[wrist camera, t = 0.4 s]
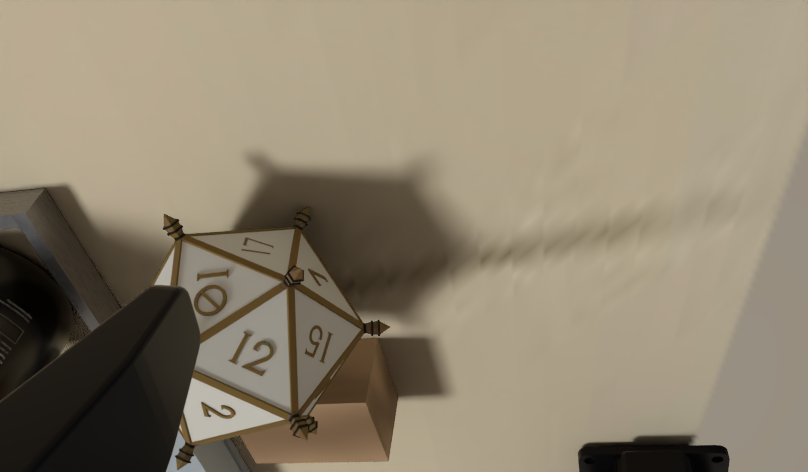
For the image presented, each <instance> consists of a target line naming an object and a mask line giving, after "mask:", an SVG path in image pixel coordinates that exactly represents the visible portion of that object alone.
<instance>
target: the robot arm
mask: <svg viewBox="0 0 808 472" xmlns="http://www.w3.org/2000/svg"><path fill="white" fill-rule="evenodd" d="M200 338H201V336H200V329H199V325H198V322H197V319H196V315H195V312H194V309H193V305H192V302H191V299H190V296H189V293H188V291H187V290H186V289H185V288H184V287H181V286H170V285H153V286H151V287H149V288H147V289H146V290H145V291H143V292H142V293H141V294H139V295H138V296H137V297H135V298H134V299H133V300H132V301H130V302H129V303H128V304H126V305H125V306H124V307H122V308H121V309H120V310H118V311H117V312H116V313H115V314H113V315H112V316H111V317H109V318H108V319H107V320H105V321H104V322H103V323H102V324H100V325H99V326H98V327H96V328H95V329H94V330H92V331H91V332H90V333H88V334H87V335H86V336H85V337H83V338H82V339H81V340H79V341H78V342H77V343H75V344H74V345H73V346H72V347H70V348H69V349H68V350H66V351H65V352H64V353H62V354H61V355H60V356H59V357H57V358H56V359H55V360H53V361H52V362H51V363H49V364H48V365H47V366H45V367H44V368H43V369H42V370H40V371H39V372H38V373H36V374H35V375H34V376H32V377H31V378H30V379H29V380H27V381H26V382H25V383H23V384H22V385H21V386H19V387H18V388H17V389H15V390H14V391H13V392H12V393H10V394H9V395H8V396H6V397H5V398H4V399H2V400H1V401H0V472H166V470H167V468H168V465H169V462H170V459H171V456H172V453H173V449H174V446H175V442H176V439H177V435H178V431H179V427H180V423H181V419H182V415H183V411H184V407H185V403H186V399H187V395H188V392H189V388H190V384H191V380H192V376H193V372H194V368H195V364H196V360H197V356H198V352H199V348H200ZM578 460H579V471H580V472H728V467H729V455H728V451H727V449H726V448H725V447H723V446H717V445H704V446H703V445H701V446H631V447H585V448H582V449H580V450H579V452H578Z"/></svg>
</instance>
